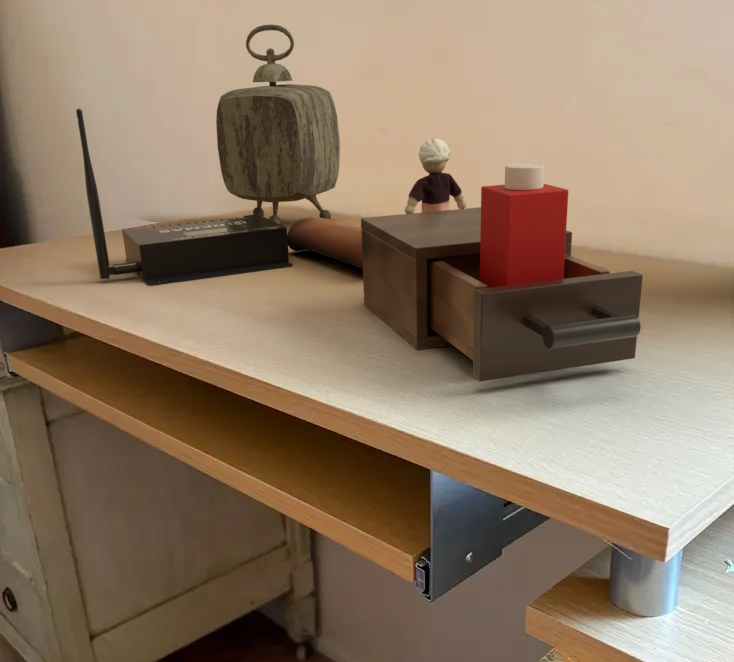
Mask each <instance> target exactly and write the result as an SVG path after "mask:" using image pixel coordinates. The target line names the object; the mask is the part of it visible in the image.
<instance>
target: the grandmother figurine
mask: <svg viewBox="0 0 734 662" xmlns="http://www.w3.org/2000/svg"><path fill="white" fill-rule="evenodd" d="M448 146H449V145H448V144H447V143H445V141H443V140H442V138H441V139H439V138H430V139H428V140H426V141H425V142H423V143H422V144H421V146H420V147H419V150H418V151H419V152H418V157H419V161H420V163H421V165H422V168H423V170H424V171H425V172H426V173H428V175H425V176H424V177H421V178H419V179H418V180H416V181H415V183H414V185H413V186H412V188H411V190H410V191H409V193H408V199H407V203H406V206H405V207H404V212H405V213H404V214H412V213H415V210H416V207H417V206H418V203H420V202H421V213H423V212H434V211H445V210H451V207H450V206H451V205H450V198H451V197H453V200H454V202H455V203H456V207H457V209H466V207H467V205H468V204H467V201H466V200H465V196H464V194H463V191H462V188H461V187H460V185H459V184H458V182H457V181H456V179H455V178H454V177H453V176H452V175H451V174H450V173H448V172H443V171H444V170H445V168H446V166H447V162H449V161H450V159H451V157H450V156H451V150H450V148H449V147H448ZM450 196H451V197H450Z"/></svg>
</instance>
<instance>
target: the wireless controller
mask: <svg viewBox="0 0 734 662" xmlns="http://www.w3.org/2000/svg"><path fill="white" fill-rule="evenodd" d="M75 111H76V112H75V113H76V118H77V125H78V126H77V127H78V130H79V137H80V143H81V151H82V158H83V169H84V179H85V180H84V181H85V190H86V198H87V204H88V210H89V217H90V222H91V230H92V236H93V242H94V248H95V254H96V259H97V260H96V261H97V266H98V272H99V279H101V280H108V279H109V278H110V276H118V275H126V274H135V273H136V274H137V275H138V276H139V277H140V279H142V281H143V282H145V284H146V285H147V286H156V285H163V284H170V283H179V282H186V281H193V280H200V279H201V280H202V279H207V278H214V277H216V278H217V277H221V276H223V277H224V276H230V275H237V274H244V273H252V272H258V271H259V272H260V271H266V270H273V269H281V268H287V267H289V268H290V267H293V266H294V264H293V263H291V262H290V254H289V246H288V238H287V234H288V228H287V227H286V226H284V225H282V224H281V223H280V224H278V223H275V222H273V221H271V220H269V218H267V217H264V216H263V217H262V216H260V215H258V214H255V215H253V214H248V215H243V217H242V218H239V217H235V218H232V219H231V218H227V219H222V218H221V219H220V220H215V219H213V220H212V219H211V220H210V221H205V220H203V221H202V222H197V221H195V222H194V223H189V222H187V224H181V223H177V224H176V225H171V224H168V226H163V225H161V226H160V227H155V226H152V228H147V227H145V226H139V227H137V226H136V227H130V228H128V227H127V228H122V229H121V232H122V237H123V238H122V239H123V245H124V252H125V253H124V254H125V262H121V263H113V264H110V260H109V254H108V247H107V241H106V234H105V229H104V222H103V215H102V209H101V204H100V202H101V201H100V197H99V190H98V186H97V183H96V182H97V181H96V179H95V174H94V170H93V165H92V161H91V156H90V151H89V146H88V138H87V133H86V126H85V120H84V114H83V110H82V109H81V108H77V109H76V110H75Z"/></svg>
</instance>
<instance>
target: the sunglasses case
mask: <svg viewBox="0 0 734 662" xmlns="http://www.w3.org/2000/svg"><path fill="white" fill-rule="evenodd" d="M361 229H362V228H361V226H357V225H354V224H350V223H348V222H345V221H341V220H337V219H332V218H330V219H326V218H320V217H305V218H301V219H298V220H296V221H294V222H293V223H292V225H291V226H290V228H289V229H288V230H287V238H288V248H289V249H291V250H292V251H294V252H304V251H307V252H315V253H316V254H319V255H321V256H325V257H327V258H332V259H335V260H337V261H339V262H341V263H345V264H348V265H351V266H354V267H357V268H359V269H362V270H363V259H362V233H361Z"/></svg>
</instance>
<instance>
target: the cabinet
mask: <svg viewBox="0 0 734 662" xmlns="http://www.w3.org/2000/svg"><path fill="white" fill-rule="evenodd" d="M360 227H361V228H362V229H361V233H362V259H363V269H362V280H363V281H362V282H363V283H362V284H363V285H362V286H363V304H364V306H365V307H367V308H368V309H369V310H370V311H371V312H372V313H374V314H375V315H376V316H377V317H378V318H379V319H381V320H382V321H383V322H384V323H385V324H387V325H388V327H390V328H391V329H392V330H394V331H395V332H396V333H397V334H398V335H399V336H400V337H402V338H403V339H404V340H405V341H406V342H407V343H409V344H410V345H411V346H412V347H414V348H415V349H416V350H423V349H424V350H425V349H432V348H439V347H445V346H453V345H452V344H451V343H449V342H448V341H447V340H445V339H444V338H443V337H441V336H440V335H439V334H438V333H436V332H435V331H434V330H432V329H431V328H430V327H428V326H427V259H432V258H441V257H451V256H460V255H470V254H479V253H480V234H481V206H479V207H467V208H464V209H459V208H457V209H450V210H445V211H434V212H423V213H422V212H414V213H412V214H406V213H403V214H392V215H391V214H390V215H381V216H380V215H379V216H369V217H361V218H360ZM572 241H573V232H572V231H569V230H567V229H566V243H565V254H568V255H570V256H572V243H573V242H572Z"/></svg>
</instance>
